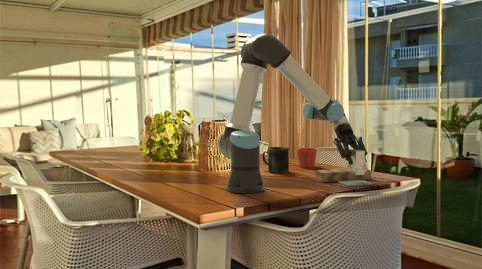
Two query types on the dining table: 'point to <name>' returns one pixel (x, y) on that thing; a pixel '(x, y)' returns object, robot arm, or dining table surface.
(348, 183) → the mat
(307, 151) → the flower pot
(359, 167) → the white rectangular block
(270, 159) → the mug
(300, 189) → the dining table surface
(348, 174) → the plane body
